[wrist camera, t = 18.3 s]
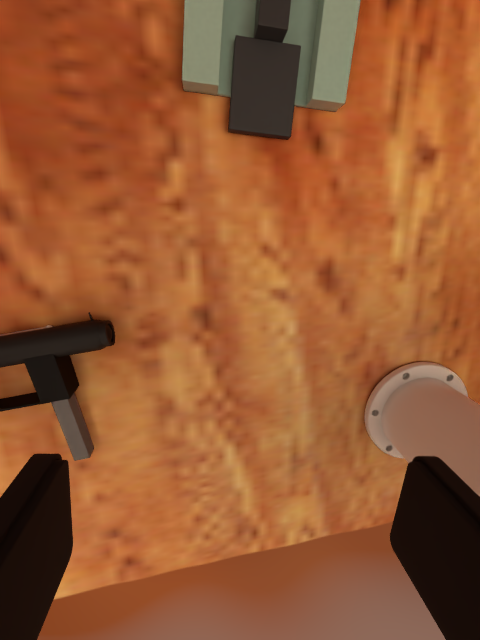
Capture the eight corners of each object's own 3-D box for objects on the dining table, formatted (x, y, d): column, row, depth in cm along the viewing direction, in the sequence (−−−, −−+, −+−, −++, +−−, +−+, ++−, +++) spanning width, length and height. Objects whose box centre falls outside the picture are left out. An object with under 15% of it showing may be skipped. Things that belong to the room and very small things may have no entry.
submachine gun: (142, 452, 35) (99, 312, 30) (-50, 489, 34) (-130, 351, 29) (147, 432, 39) (108, 302, 33) (-29, 466, 38) (-98, 337, 32)
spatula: (246, -129, 25) (251, -172, 22) (316, -113, 26) (329, -153, 23) (227, 132, 30) (230, 122, 27) (288, 140, 30) (296, 131, 28)
